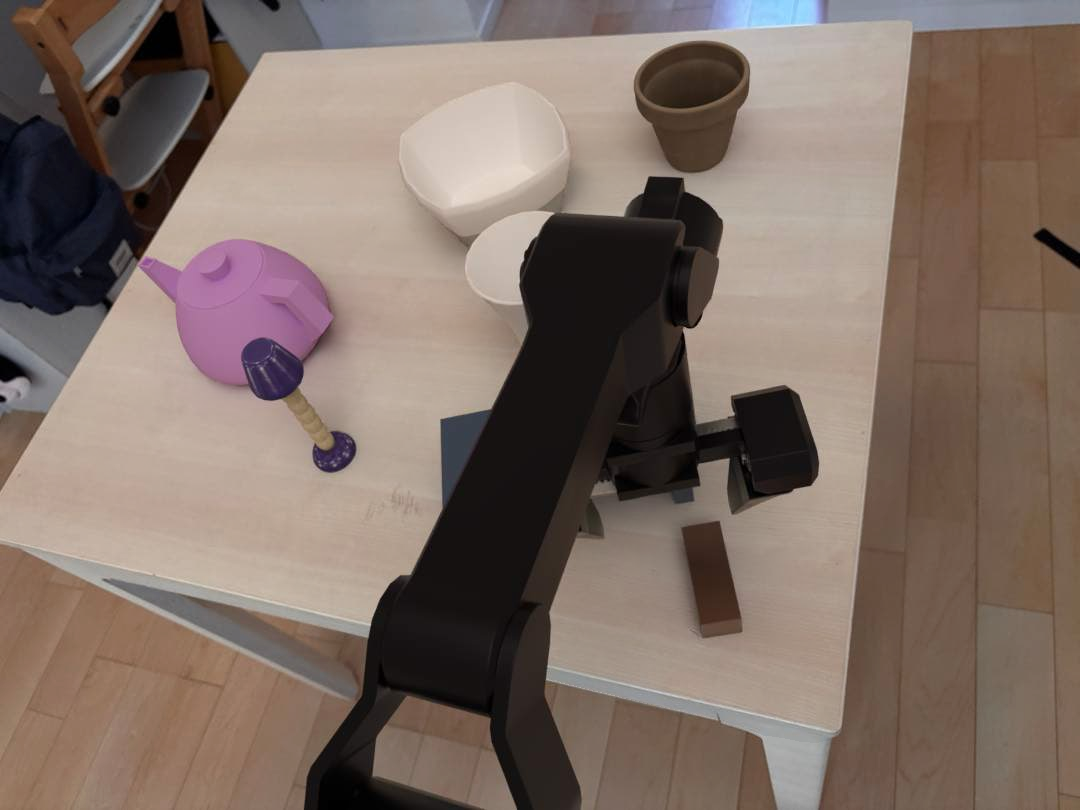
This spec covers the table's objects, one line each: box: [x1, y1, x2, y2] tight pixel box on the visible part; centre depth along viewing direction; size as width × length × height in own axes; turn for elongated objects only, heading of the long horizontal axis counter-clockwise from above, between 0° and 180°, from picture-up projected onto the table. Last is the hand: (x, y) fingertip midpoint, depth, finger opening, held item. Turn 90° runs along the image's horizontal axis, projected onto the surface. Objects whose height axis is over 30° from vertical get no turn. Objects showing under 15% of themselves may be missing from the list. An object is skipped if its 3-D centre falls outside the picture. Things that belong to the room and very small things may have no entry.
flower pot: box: [633, 40, 751, 173], centre depth 90 cm, size 12×11×10 cm
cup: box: [464, 211, 555, 347], centre depth 78 cm, size 10×10×14 cm
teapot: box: [137, 238, 335, 386], centre depth 89 cm, size 22×16×12 cm
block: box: [681, 520, 743, 639], centre depth 67 cm, size 8×3×3 cm, turn 5°
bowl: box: [397, 81, 572, 249], centre depth 92 cm, size 18×18×9 cm
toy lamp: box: [241, 337, 357, 473], centre depth 76 cm, size 5×5×17 cm
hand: (666, 520), depth 60 cm, fingers open, 9 cm apart
